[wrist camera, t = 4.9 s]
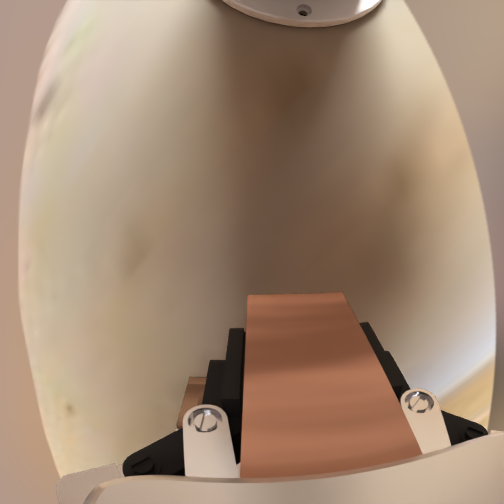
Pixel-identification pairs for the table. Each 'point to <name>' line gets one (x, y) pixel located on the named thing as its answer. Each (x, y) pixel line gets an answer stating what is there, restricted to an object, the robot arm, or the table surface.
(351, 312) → the salmon orange block
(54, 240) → the table surface
